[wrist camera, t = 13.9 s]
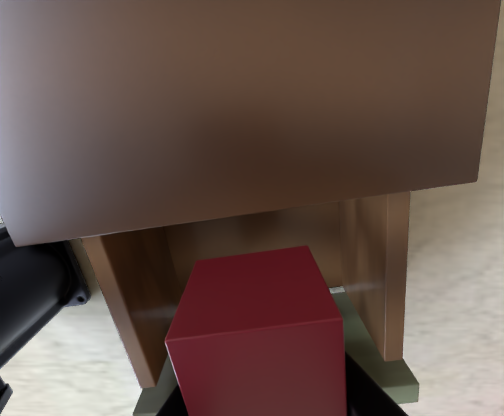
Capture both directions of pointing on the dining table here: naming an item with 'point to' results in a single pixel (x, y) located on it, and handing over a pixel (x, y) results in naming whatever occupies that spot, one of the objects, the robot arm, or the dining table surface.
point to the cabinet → (231, 107)
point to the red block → (259, 338)
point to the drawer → (257, 240)
